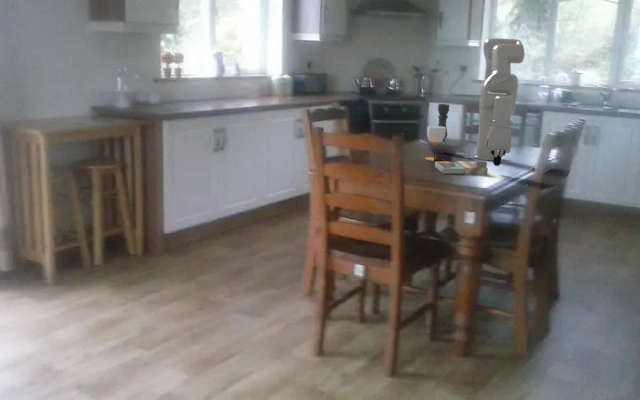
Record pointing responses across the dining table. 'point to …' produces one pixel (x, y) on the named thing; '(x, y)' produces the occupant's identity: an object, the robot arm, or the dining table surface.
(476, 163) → the slate tile
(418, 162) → the dining table surface
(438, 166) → the box
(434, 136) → the cup
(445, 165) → the terracotta tile
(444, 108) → the candle holder
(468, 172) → the birch platform
